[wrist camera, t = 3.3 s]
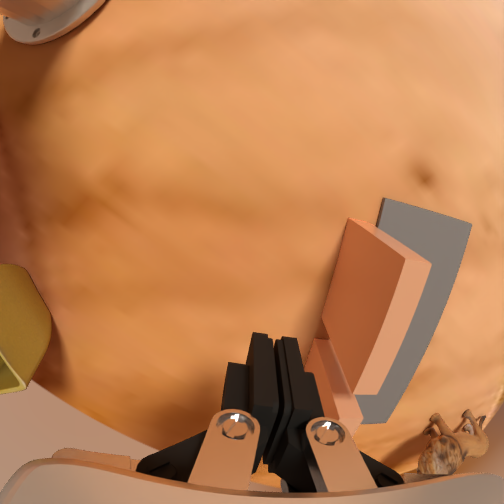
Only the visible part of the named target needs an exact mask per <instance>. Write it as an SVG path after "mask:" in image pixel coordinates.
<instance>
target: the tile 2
mask: <svg viewBox="0 0 504 504" xmlns="http://www.w3.org/2000/svg"><path fill="white" fill-rule="evenodd" d="M431 266H432V264H431V263H430V262H429V261H427V260H426V259H424V258H423V257H421V256H420V255H418V254H417V253H415V252H414V251H412V250H411V249H409V248H408V247H406V246H405V245H403V244H402V243H400V242H399V241H397V240H396V239H394V238H393V237H391V236H390V235H388V234H387V233H385V232H383V231H382V230H380V229H379V228H377V227H376V226H374V225H372V224H371V223H369V222H366V221H362V220H357V219H353V218H348V221H347V225H346V229H345V233H344V237H343V241H342V245H341V249H340V252H339V256H338V260H337V264H336V267H335V271H334V274H333V278H332V282H331V285H330V289H329V292H328V295H327V299H326V302H325V305H324V309H323V312H322V315H321V318H322V321H323V323H324V326H325V328H326V330H327V333H328V335H329V338H330V340H331V342H332V345H333V347H334V350H335V352H336V355H337V357H338V360H339V362H340V365H341V367H342V370H343V372H344V375H345V377H346V380H347V382H348V385H349V387H350V390H351V392H352V394H355V395H377V393H378V392H379V390H380V388H381V386H382V384H383V382H384V380H385V378H386V376H387V374H388V372H389V370H390V368H391V366H392V364H393V361H394V359H395V357H396V355H397V353H398V351H399V348H400V346H401V344H402V342H403V339H404V337H405V335H406V332H407V330H408V328H409V325H410V323H411V320H412V318H413V315H414V313H415V310H416V308H417V305H418V302H419V300H420V297H421V294H422V292H423V289H424V286H425V283H426V280H427V278H428V275H429V272H430V269H431Z"/></svg>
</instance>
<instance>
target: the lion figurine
mask: <svg viewBox="0 0 504 504" xmlns="http://www.w3.org/2000/svg"><path fill="white" fill-rule="evenodd" d="M463 416H464V417H466V418H468V419H469V420H470V422H471V424H472V425H473V427H472V426H471V425H470V424H467V425H466V426H464V428H463V429H464V431H468V432H469V433H466V432H456V433H453V432H452V431H451V430H450V428H449V427H448V426H447V425H446V424H445V422H444V421H443V419H442V418H441V416H440V415H439V413H435V414H434V415H432V416H431V418H430V420H431V421H433V422H434V423H435V424H436V425H437V426H438V427H439V430H440V432H441V435H440V436H438V435H437V433H436V431H435V429H434V428H432V427H429V428H426V429H425V430H424V435H428V434H430V436H431V441H429V442H428V444H427V446H426V450H425V451H424V452H423V454H421V456H420V458H419V461H418V468H417V474H447V475H452V474H453V473H454V472H455V471H456V469H457V468H458V467H459V466H460V465H461V464H462V463H463V461H464V459H465V457H469V456H470V457H473V458H478V457H480V456H482V455H483V454H485V453H486V451H487V449H488V446H489V442H488V438H487V436H486V434H485V433H484V432H483V430H482V423H483V421H484V420H485V418H486V416H482V417H481V419H480V421H479V425H478V424H477V422H476V419H475V418H474V417H473V415H472V413H471V411H470V410H469V409H468V410H466V411H465V413H464V414H463Z"/></svg>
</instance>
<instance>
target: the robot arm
mask: <svg viewBox="0 0 504 504" xmlns="http://www.w3.org/2000/svg"><path fill="white" fill-rule="evenodd" d="M105 1H106V0H0V14H1V15H3V23H4V27H5V30H6V32H7V34H8V35H9V36H10V37H11V38H12V39H14V40H15V41H18V42H21V43H23V44H30V45H34V44H42V43H45V42H48V41H51V40H54V39H56V38H58V37H60V36H62V35H64V34H66V33H68V32H69V31H71V30H72V29H74V28H75V27H77V26H78V25H80V24H81V23H82V22H83V21H85V20H86V19H87V18H88V17H90V16H91V15H92V14H93V13H94V12H95V11H96V10H97V9H98V8H99V7H100V6H101V5H102V4H103V3H104V2H105ZM262 455H263V464H268V472H269V473H275V474H277V475H278V476H279V477H280V478H281V488H282V492H281V493H280V492H260V491H248V488H249V483H250V478H251V475H252V474H253V473H255V472H256V470H257V468H258V465H259V463H260V460H261V458H262ZM0 504H504V479H503V478H502V477H500V476H497V475H494V474H489V473H463V474H455V475H447V474H407V473H404V474H403V475H402V476H400V475H399V474H398V473H397V472H396V471H394V470H392V469H391V468H389V467H387V466H385V465H383V464H382V463H380V462H378V461H376V460H375V459H373V458H371V457H369V456H368V455H366V454H364V453H363V452H361V451H359V450H358V448H357V446H356V444H355V442H354V440H353V438H352V436H351V434H350V432H349V430H348V429H347V428H346V426H345V425H344V424H342V423H341V422H339V421H337V420H335V419H332V418H329V417H325V415H324V411H323V407H322V403H321V400H320V396H319V392H318V388H317V384H316V380H315V376H314V374H313V373H312V372H304V367H303V363H302V358H301V354H300V350H299V345H298V341H297V338H291V337H284V336H282V338H281V340H279V339H276V341H275V344H274V348H273V339H271V338H268V335H267V334H263V333H256V332H253V334H252V338H251V342H250V347H249V351H248V356H247V360H246V365H245V364H238V363H232V362H228V367H227V372H226V377H225V383H224V390H223V397H222V405H221V411H220V412H218V413H217V414H215V415H214V417H213V418H212V420H211V423H210V425H209V428H208V430H206V431H204V432H202V433H199V434H197V435H195V436H193V437H191V438H189V439H186V440H184V441H182V442H180V443H177V444H175V445H173V446H170V447H168V448H166V449H163V450H161V451H159V452H156V453H154V454H151V455H149V456H147V457H145V458H143V459H142V460H133V459H130V456H122V455H113V454H105V453H98V452H90V451H85V450H79V449H73V448H64V449H61V450H58V451H57V452H55V453H54V454H53V456H52V458H45V459H37V460H33V461H30V462H28V463H26V464H24V465H23V466H22V467H21V468H19V469H18V470H17V471H16V472H15V473H14V474H13V476H12V477H11V478H10V479H9V480H8V482H7V483H6V485H5V486H4V488H3V489H2V491H1V492H0Z"/></svg>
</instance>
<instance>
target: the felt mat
mask: <svg viewBox="0 0 504 504" xmlns="http://www.w3.org/2000/svg"><path fill="white" fill-rule="evenodd" d="M376 227H377V228H379V229H380V230H382V231H383V232H385V233H387V234H388V235H390V236H391V237H393V238H394V239H396V240H397V241H399V242H400V243H402V244H403V245H405V246H406V247H408V248H409V249H411V250H412V251H414V252H415V253H417V254H418V255H420V256H421V257H423V258H424V259H426V260H427V261H429V262H430V263H431V264H432V266H431V269H430V272H429V275H428V278H427V280H426V283H425V286H424V289H423V292H422V294H421V297H420V300H419V302H418V305H417V308H416V310H415V313H414V315H413V318H412V320H411V323H410V325H409V328H408V330H407V332H406V335H405V337H404V339H403V342H402V344H401V346H400V348H399V351H398V353H397V355H396V357H395V359H394V361H393V364H392V366H391V368H390V370H389V372H388V374H387V376H386V378H385V380H384V382H383V384H382V386H381V388H380V390H379V392H378V393H377V395H355V394H354V395H355V397H356V400H357V402H358V405H359V407H360V410H361V413H362V415H363V420H362V422H361V423H360V424H377V423H386V422H387V420H388V419H389V417H390V416H391V414H392V412H393V411H394V409H395V407H396V406H397V404H398V402H399V400H400V399H401V397H402V395H403V393H404V392H405V390H406V388H407V386H408V384H409V383H410V381H411V379H412V377H413V375H414V373H415V371H416V369H417V367H418V365H419V363H420V361H421V359H422V357H423V355H424V353H425V351H426V349H427V347H428V345H429V343H430V341H431V338H432V336H433V334H434V332H435V329H436V327H437V325H438V322H439V320H440V318H441V315H442V313H443V310H444V308H445V306H446V303H447V300H448V298H449V295H450V293H451V290H452V287H453V284H454V282H455V279H456V276H457V273H458V270H459V267H460V264H461V261H462V258H463V255H464V252H465V248H466V245H467V242H468V238H469V235H470V231H471V227H472V224H470V223H468V222H465V221H462V220H459V219H455V218H452V217H449V216H446V215H443V214H439V213H436V212H433V211H430V210H426V209H423V208H419V207H416V206H413V205H409V204H405V203H402V202H398V201H395V200H391V199H387V198H383V201H382V205H381V209H380V213H379V217H378V221H377V225H376Z"/></svg>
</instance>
